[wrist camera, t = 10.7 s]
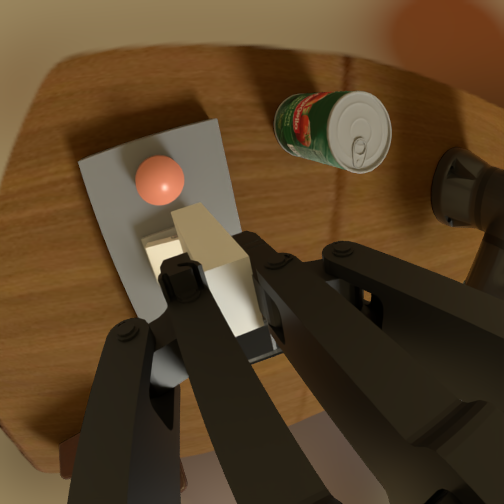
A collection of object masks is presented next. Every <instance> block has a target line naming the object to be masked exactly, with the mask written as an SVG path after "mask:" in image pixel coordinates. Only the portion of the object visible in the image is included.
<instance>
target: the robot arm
mask: <svg viewBox="0 0 504 504" xmlns="http://www.w3.org/2000/svg"><path fill="white" fill-rule="evenodd" d="M432 207H433V211H434V214H435V216H436V218H437V219H438V220H439V221H440V222H441V223H443V224H446V225H448V226H450V227H461V228H477V229H479V230H482V231H484V232H485V234H484V237H483V239H482V242H481V245H480V247H479V250H478V252H477V255H476V257H475V259H474V262H473V264H472V267H471V269H470V271H469V273H468V276H467V278H466V280H465V281H464V282H463V284H462V283H460V282H458V281H455V280H453V279H450V278H448V277H445V276H443V275H440V274H437V273H435V272H432V271H430V270H427V269H425V268H422V267H420V266H417V265H414V264H412V263H409V262H406V261H404V260H401V259H399V258H396V257H393V256H391V255H388V254H385V253H382V252H380V251H377V250H374V249H372V248H369V247H366V246H363V245H361V244H358V243H355V242H350V241H338V242H333V243H331V244H329V245H327V246H326V247H325V248H323V251H322V259H320V260H315V261H309V262H302V261H301V260H299V259H298V258H297V257H296V256H294V255H292V254H289V253H277V252H276V251H275V250H274V249H273V248H272V247H271V246H269V245H268V244H267V243H266V242H265V241H264V240H263V239H261V237H259V236H258V235H257V234H256V233H253V232H249V231H244V232H241V233H238V234H235V235H232V236H230V234H229V233H228V232H227V231H226V230H225V229H224V228H223V227H222V226H221V224H220V223H219V222H218V221H217V220H216V219H215V218H214V217H213V216H212V214H211V213H210V212H209V211H208V210H207V209H206V208H205V207H204V206H203V204H202V203H201V202H200V203H196V204H193V205H190V206H187V207H184V208H181V209H178V210H175V211H172V212H171V215H172V218H173V221H174V225H175V228H176V231H177V235H178V238H179V241H180V244H181V247H182V251H183V253H182V254H179V255H177V256H174V257H171V258H168V259H165V260H163V262H162V264H161V266H160V271H161V273H160V274H159V275H158V282H159V285H160V287H161V290H162V293H163V295H164V298H165V300H166V302H167V309H166V310H165V312H164V313H163V314H162V315H161V316H160V317H158V318H157V319H155V320H154V321H152V322H150V323H149V324H148V322H147V321H146V320H145V319H141V318H130V319H127V320H124V321H122V322H120V323H118V324H117V325H115V326H114V327H113V328H112V329H111V330H110V332H109V334H108V336H107V338H106V341H105V344H104V348H103V351H102V354H101V357H100V361H99V364H98V367H97V371H96V374H95V378H94V381H93V385H92V388H91V392H90V396H89V400H88V404H87V407H86V411H85V416H84V420H83V424H82V428H81V432H80V437H79V442H78V446H77V451H76V456H75V461H74V466H73V472H72V477H71V483H70V489H69V496H68V502H67V504H181V497H180V385H179V383H181V382H182V381H184V380H185V379H187V378H188V377H189V380H190V383H191V386H192V389H193V392H194V395H195V398H196V400H197V403H198V406H199V409H200V412H201V415H202V418H203V420H204V423H205V426H206V428H207V431H208V434H209V436H210V439H211V442H212V444H213V447H214V449H215V452H216V455H217V457H218V460H219V462H220V465H221V467H222V469H223V472H224V474H225V477H226V479H227V481H228V484H229V486H230V488H231V490H232V493H233V495H234V497H235V500H236V502H237V504H342V503H341V502H340V501H338V500H337V499H335V498H334V497H333V496H332V495H331V494H330V492H329V491H328V489H327V488H326V487H325V485H324V483H323V482H322V480H321V479H320V477H319V476H318V474H317V473H316V471H315V470H314V468H313V467H312V465H311V464H310V462H309V460H308V459H307V457H306V456H305V454H304V453H303V451H302V450H301V448H300V446H299V445H298V443H297V442H296V440H295V438H294V437H293V435H292V433H291V432H290V430H289V429H288V427H287V425H286V424H285V422H284V420H283V419H282V417H281V415H280V414H279V412H278V410H277V409H276V407H275V405H274V404H273V402H272V400H271V399H270V397H269V395H268V394H267V392H266V390H265V388H264V387H263V385H262V383H261V382H260V380H259V378H258V376H257V375H256V373H255V371H254V369H253V368H252V366H251V364H250V362H249V361H248V359H247V357H246V355H245V354H244V352H243V350H242V348H241V346H240V345H239V343H238V341H237V339H236V337H237V336H239V335H242V334H244V333H247V332H249V331H252V330H254V329H257V328H259V327H262V326H264V322H263V318H262V315H263V316H264V318H265V319H266V320H267V323H268V328H269V333H270V337H271V342H272V346H273V349H274V350H275V349H277V347H276V343H277V344H278V346H279V347H280V349H281V350H282V351H283V353H284V354H285V356H286V357H287V358H288V360H289V361H290V363H291V364H292V365H293V367H294V368H295V370H296V371H297V372H298V374H299V375H300V377H301V378H302V379H303V381H304V382H305V384H306V385H307V386H308V388H309V389H310V390H311V392H312V393H313V395H314V396H315V397H316V399H317V400H318V401H319V403H320V404H321V406H322V407H323V408H324V410H325V411H326V412H327V414H328V415H329V416H330V418H331V419H332V420H333V422H334V423H335V425H336V426H337V427H338V428H339V430H340V431H341V433H342V434H343V435H344V437H345V438H346V439H347V440H348V442H349V443H350V445H351V446H352V447H353V449H354V450H355V451H356V452H357V454H358V455H359V456H360V458H361V459H362V460H363V462H364V463H365V464H366V466H367V467H368V468H369V470H370V471H371V472H372V473H373V475H374V476H375V477H376V479H377V480H378V481H379V482H380V484H381V485H382V486H383V488H384V489H385V490H386V493H387V495H388V498H389V502H390V504H504V170H503V169H499V168H496V167H493V166H491V165H489V164H488V163H487V162H485V161H484V160H482V159H481V158H480V157H478V156H477V155H475V154H474V153H472V152H471V151H469V150H467V149H463V148H459V147H454V148H452V149H450V150H448V151H447V152H446V153H445V154H444V156H443V157H442V159H441V160H440V162H439V164H438V166H437V169H436V172H435V175H434V179H433V184H432ZM364 290H365V291H367V292H370V293H371V302H369V301H366V300H364ZM461 400H462V401H461Z"/></svg>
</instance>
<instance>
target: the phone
mask: <svg viewBox="0 0 504 504" xmlns="http://www.w3.org/2000/svg"><path fill="white" fill-rule="evenodd" d="M262 318H263V322H264V326H262V327H259V328H257V329H254V330H252V331H249V332H247V333H244V334H242V335H239V336H237V337H236V339H237V341H238V343H239V345H240V346H241V348H242V350H243V352H244V354H245V355H246V357H247V359H248V361H249V362H250V364H254V363H257V362H260V361H263V360H265V359H268V358H271V357H274V356H276V355H279V354H282V353H283V351H282V350H281V349H280V347H279V346H278V344H277V343H276V347H277V349H275V350H274V349H273V346H272V342H271V337H270V333H269V328H268V323H267V320H266V319H265V318H264V317H262Z"/></svg>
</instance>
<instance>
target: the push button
mask: <svg viewBox="0 0 504 504" xmlns="http://www.w3.org/2000/svg"><path fill="white" fill-rule="evenodd" d="M135 182H136V188H137V191H138V193H139V195H140V196H141V198H142V199H143V200H144V201H146V202H148V203H150V204H152V205H165V204H168V203H170V202H172V201H174V200H175V199H176V198H177V197H178V196H179V195H180V193H181V191H182V189H183V186H184V174H183V171H182V169H181V167H180V166H179V165H178V163H176V162H175V161H174V160H173V159H171V158H170V157H168V156H165V155H154V156H151V157H148V158H147V159H145V160H144V161H143V162H142V163H141V164H140V165H139V167H138V169H137V171H136V175H135Z"/></svg>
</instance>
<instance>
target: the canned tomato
mask: <svg viewBox="0 0 504 504" xmlns="http://www.w3.org/2000/svg"><path fill="white" fill-rule="evenodd" d="M274 132H275V136H276V138H277V140H278V142H279V144H280V145H281V147H282V148H283V149H284V150H285V151H286V152H288V153H290V154H291V155H294V156H297V157H302V158H306V159H310V160H313V161H317V162H320V163H323V164H327V165H331V166H335V167H337V168H341V169H345V170H348V171H350V172H353V173H366V172H369V171H372V170H373V169H375V168H376V167H377V166H378V165H379V164H380V163H381V162H382V161H383V160H384V158H385V157H386V154H387V152H388V150H389V147H390V143H391V136H392V128H391V122H390V118H389V115H388V112H387V110H386V108H385V107H384V105H383V104H382V102H381V101H380V100H379V99H378V98H377V97H375V96H374V95H372V94H371V93H368V92H365V91H345V92H342V91H340V92H321V93H306V94H295V95H292V96H290V97H288V98H287V99H285V100H284V101H283V102H282V103H281V104H280V106H279V107H278V109H277V111H276V114H275V117H274Z"/></svg>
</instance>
